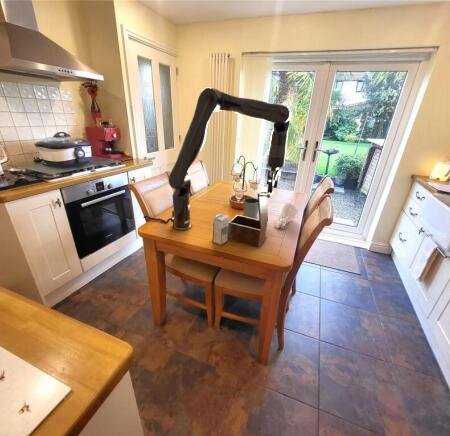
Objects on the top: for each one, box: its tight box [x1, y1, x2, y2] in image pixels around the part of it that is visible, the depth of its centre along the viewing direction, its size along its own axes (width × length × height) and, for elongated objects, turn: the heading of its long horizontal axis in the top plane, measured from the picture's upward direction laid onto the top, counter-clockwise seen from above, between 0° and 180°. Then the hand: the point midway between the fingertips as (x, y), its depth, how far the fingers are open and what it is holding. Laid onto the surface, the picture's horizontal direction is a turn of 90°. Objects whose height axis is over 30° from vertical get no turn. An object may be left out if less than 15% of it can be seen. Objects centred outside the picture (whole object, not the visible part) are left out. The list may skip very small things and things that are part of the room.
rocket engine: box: [275, 202, 299, 230], centre depth 143 cm, size 12×12×18 cm
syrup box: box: [212, 213, 230, 246], centre depth 120 cm, size 6×6×14 cm
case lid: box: [257, 186, 275, 230], centre depth 115 cm, size 18×12×5 cm
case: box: [228, 214, 268, 248], centre depth 125 cm, size 18×12×10 cm, turn 64°
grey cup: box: [242, 197, 259, 219], centre depth 149 cm, size 10×10×12 cm
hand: (272, 190), depth 110 cm, fingers open, 8 cm apart
